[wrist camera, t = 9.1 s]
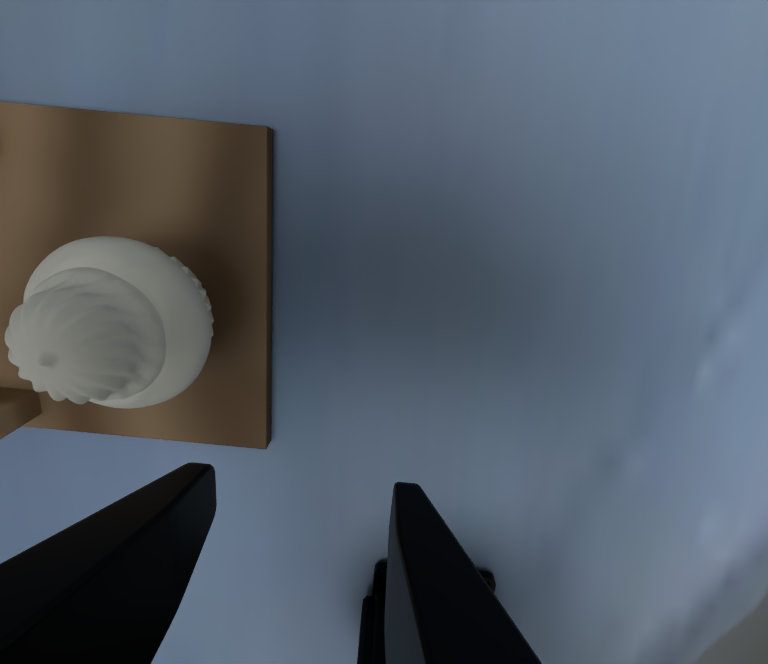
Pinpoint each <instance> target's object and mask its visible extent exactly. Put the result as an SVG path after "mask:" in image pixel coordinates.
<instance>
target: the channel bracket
mask: <svg viewBox="0 0 768 664" xmlns="http://www.w3.org/2000/svg"><path fill="white" fill-rule="evenodd" d="M272 182H273V129H271V128H269V127H267V126H256V125H245V124H234V123H224V122H213V121H202V120H192V119H181V118H170V117H159V116H149V115H138V114H127V113H117V112H106V111H95V110H84V109H74V108H63V107H52V106H42V105H31V104H20V103H9V102H0V439H1V438H3V437H5V436H6V435H8V434H10V433H11V432H13V431H14V430H16V429H18V428H19V427H21V426H26V427H36V428H47V429H57V430H68V431H78V432H89V433H99V434H110V435H120V436H131V437H142V438H152V439H163V440H173V441H184V442H194V443H205V444H215V445H226V446H236V447H247V448H257V449H267V447H268V445H269V443H270V441H271V351H272ZM99 236H109V237H122V238H129V239H133V240H137V241H140V242H143V243H146V244H148V245H151V246H153V247H158V248H159V249H161V250H162V251H163V252H164V253H165V254H167V255H168V256H169V257H176V258H177V259H178V260H179V261H180V262H181V263H182V264H183V265H184V266H185V267H188V268H189V269H190V270H191V271H192V273H193V274H194V275H195V276H196V277H197V279H198V280H199V281H200V282H201V283H202V288H204V289H205V290H206V295H207V296H208V298H209V301H210V304H211V312H212V316H213V319H214V322H213V323H212V329H213V336H212V337H211V345H210V350H209V354H208V357H207V360H206V362H205V364H204V366H203V368H202V370H201V372H200V373H199V375H198V376H197V378H196V379H195V380H194V381H193V382H192V384H191V385H190V386H189V387H187V388H186V389H185V390H184V391H183V392H181V393H180V394H178V395H177V396H175V397H173V398H171V399H169V400H167V401H164V402H161V403H159V404H155V405H152V406H146V407H141V408H130V409H126V408H113V407H108V406H103V405H99V404H96V403H93V402H90V401H87V402H86V403H84V404H76V403H74V402H72V401H70V400H69V399H68V398H66V399H64V400H62V401H55V400H53V399H52V398H51V397H50V395H49V393H48V392H47V391H43V392H36V391H34V389H33V385H32V382H31V381H30V380H25V379H22V378H20V377H19V375H18V372H19V367H18V366H16V365H14V364H12V363H11V362H10V361H9V359H8V352H9V348H8V346H7V345H6V343H5V332H6V329H7V328H8V326H9V320H10V317H11V314H12V313H13V311H14V310H15V308H17V307H18V306H19V305H21V304H23V300H24V292H25V288H26V286H27V283H28V281H29V279H30V277H31V275H32V274H33V272H34V271H35V269H36V268H37V267H38V265H39V264H40V263H41V262H42V261H43V260H44V259H45V258H46V257H47V256H48V255H49V254H51V253H52V252H53V251H55V250H56V249H58V248H59V247H61V246H63V245H65V244H67V243H70V242H72V241H75V240H79V239H83V238H89V237H99Z"/></svg>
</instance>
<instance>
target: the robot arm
mask: <svg viewBox="0 0 768 664" xmlns="http://www.w3.org/2000/svg"><path fill="white" fill-rule="evenodd" d="M215 512H216V481H215V470H214V467H213V466H212V465H210V464H202V463H187V464H185V465H183V466H181V467H179V468H177V469H175V470H174V471H172V472H170V473H168V474H166V475H164V476H162V477H161V478H159V479H157V480H155V481H153V482H151V483H149V484H148V485H146V486H144V487H142V488H140V489H138V490H136V491H135V492H133V493H131V494H129V495H127V496H125V497H124V498H122V499H120V500H118V501H116V502H114V503H112V504H111V505H109V506H107V507H105V508H103V509H101V510H99V511H98V512H96V513H94V514H92V515H90V516H88V517H86V518H85V519H83V520H81V521H79V522H77V523H75V524H74V525H72V526H70V527H68V528H66V529H64V530H62V531H61V532H59V533H57V534H55V535H53V536H51V537H49V538H48V539H46V540H44V541H42V542H40V543H38V544H36V545H35V546H33V547H31V548H29V549H27V550H25V551H23V552H22V553H20V554H18V555H16V556H14V557H12V558H10V559H9V560H7V561H5V562H3V563H1V564H0V664H151V662H152V660H153V658H154V656H155V654H156V652H157V650H158V648H159V646H160V644H161V643H162V641H163V639H164V637H165V635H166V633H167V631H168V629H169V627H170V625H171V623H172V621H173V618H174V616H175V614H176V612H177V610H178V608H179V605H180V603H181V601H182V598H183V596H184V593H185V591H186V588H187V586H188V583H189V581H190V578H191V575H192V573H193V570H194V568H195V565H196V563H197V560H198V558H199V555H200V553H201V550H202V547H203V545H204V542H205V540H206V537H207V535H208V532H209V530H210V527H211V524H212V522H213V519H214V516H215ZM382 571H385V572H382ZM486 581H487V582H486ZM495 586H496V584H495V579H494V576H493V574H492V573H490V572H487V571H478V570H477V568H476V567H475V565H474V564H473V562H472V561H471V560H470V558H469V557H468V555H467V554H466V552H465V551H464V549H463V548H462V546H461V545H460V544H459V542H458V541H457V539H456V538H455V536H454V535H453V533H452V532H451V530H450V529H449V528H448V526H447V525H446V523H445V522H444V520H443V519H442V517H441V516H440V514H439V513H438V512H437V510H436V509H435V507H434V506H433V504H432V503H431V501H430V500H429V499H428V497H427V496H426V494H425V493H424V491H423V490H422V488H421V487H420V486H419V485H418V484H415V483H405V482H397V483H395V485H394V489H393V497H392V506H391V515H390V524H389V539H388V559H387V562H379V563H377V564H376V566H375V569H374V579H373V588H372V596H366V597H365V598H364V599H363V604H362V614H361V624H360V635H359V647H358V658H357V664H541V661H540V660H539V658H538V657H537V655H536V654H535V653H534V651H533V650H532V648H531V647H530V645H529V644H528V642H527V641H526V640H525V638H524V637H523V635H522V634H521V632H520V631H519V629H518V628H517V626H516V625H515V624H514V622H513V621H512V619H511V618H510V616H509V615H508V613H507V612H506V610H505V609H504V608H503V606H502V605H501V603H500V602H499V600H498V599H497V597H496V596H495V594H494V591H495Z"/></svg>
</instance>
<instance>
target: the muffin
mask: <svg viewBox="0 0 768 664" xmlns="http://www.w3.org/2000/svg"><path fill="white" fill-rule="evenodd" d="M213 322H214V319H213V316H212V312H211V304H210V301H209V298H208V296H207V295H206V290H205V289H204V288H202V283H201V282H200V281H199V280H198V279H197V277H196V276H195V275H194V274H193V273H192V271H191V270H190V269H189V268H188V267H185V266H184V265H183V264H182V263H181V262H180V261H179V260H178V259H177V258H176V257H169V256H168V255H167V254H165V253H164V252H163V251H162V250H161V249H159V248H158V247H153V246H151V245H148V244H146V243H143V242H140V241H137V240H133V239H129V238H122V237H109V236H99V237H89V238H83V239H79V240H75V241H72V242H70V243H67V244H65V245H63V246H61V247H59V248H58V249H56V250H55V251H53V252H52V253H51V254H49V255H48V256H47V257H46V258H45V259H44V260H43V261H42V262H41V263H40V264H39V265H38V267H37V268H36V269H35V271H34V272H33V274H32V275H31V277H30V279H29V281H28V283H27V286H26V288H25V292H24V300H23V304H21V305H19V306H18V307H17V308H15V310H14V311H13V313H12V314H11V317H10V320H9V326H8V328H7V329H6V332H5V343H6V345H7V346H8V348H9V352H8V359H9V361H10V362H11V363H12V364H14V365H16V366H18V367H19V372H18V375H19V377H20V378H22V379H25V380H30V381H31V382H32V385H33V389H34V391H36V392H43V391H47V392H48V393H49V395H50V397H51V398H52V399H53V400H55V401H62V400H64V399H66V398H68V399H69V400H70V401H72V402H74V403H76V404H84V403H86V402H87V401H90V402H93V403H96V404H99V405H103V406H108V407H113V408H126V409H130V408H141V407H146V406H152V405H155V404H159V403H161V402H164V401H167V400H169V399H171V398H173V397H175V396H177V395H178V394H180V393H181V392H183V391H184V390H185V389H186V388H187V387H189V386H190V385H191V384H192V382H193V381H194V380H195V379H196V378H197V376H198V375H199V373H200V372H201V370H202V368H203V366H204V364H205V362H206V360H207V357H208V354H209V350H210V345H211V337H212V336H213V329H212V323H213Z"/></svg>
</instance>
